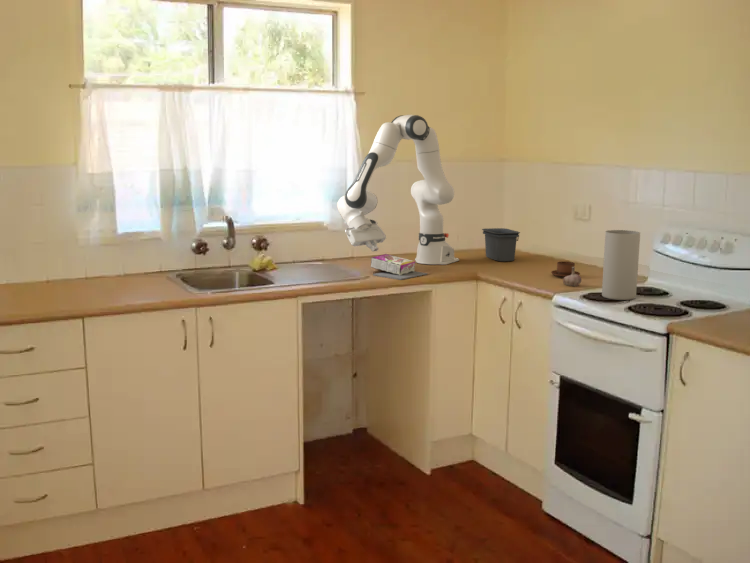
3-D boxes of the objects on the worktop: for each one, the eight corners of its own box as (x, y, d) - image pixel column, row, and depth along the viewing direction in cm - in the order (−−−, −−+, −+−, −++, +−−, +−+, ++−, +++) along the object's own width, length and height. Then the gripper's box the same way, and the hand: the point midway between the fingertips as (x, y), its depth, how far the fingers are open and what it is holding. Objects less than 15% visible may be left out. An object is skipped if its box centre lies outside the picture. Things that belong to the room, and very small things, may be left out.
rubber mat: (400, 270, 366) (400, 268, 366) (427, 274, 356) (427, 273, 355) (372, 275, 353) (372, 273, 353) (400, 280, 343) (400, 278, 342)
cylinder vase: (642, 299, 306) (647, 233, 301) (613, 301, 302) (617, 234, 297) (623, 293, 317) (627, 229, 313) (595, 294, 314) (599, 230, 309)
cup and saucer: (552, 273, 361) (552, 260, 360) (580, 275, 358) (580, 261, 356) (550, 278, 350) (550, 264, 348) (578, 280, 346) (579, 265, 345)
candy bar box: (386, 252, 366) (415, 260, 357) (385, 263, 368) (414, 271, 358) (370, 256, 358) (401, 265, 348) (370, 267, 359) (400, 276, 350)
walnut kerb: (394, 270, 366) (394, 267, 366) (396, 270, 365) (396, 267, 365) (372, 274, 356) (372, 270, 356) (374, 274, 355) (374, 271, 355)
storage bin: (478, 256, 408) (479, 228, 406) (507, 255, 412) (508, 227, 410) (495, 263, 388) (496, 233, 386) (525, 261, 392) (526, 232, 389)
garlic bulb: (579, 288, 328) (580, 268, 327) (561, 286, 331) (562, 267, 329) (582, 284, 335) (583, 265, 334) (563, 283, 338) (564, 264, 336)
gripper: (347, 224, 358) (363, 248, 353) (378, 220, 373) (394, 243, 368) (340, 233, 362) (355, 257, 357) (371, 229, 377) (387, 252, 372)
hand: (375, 250), depth 363 cm, fingers closed
